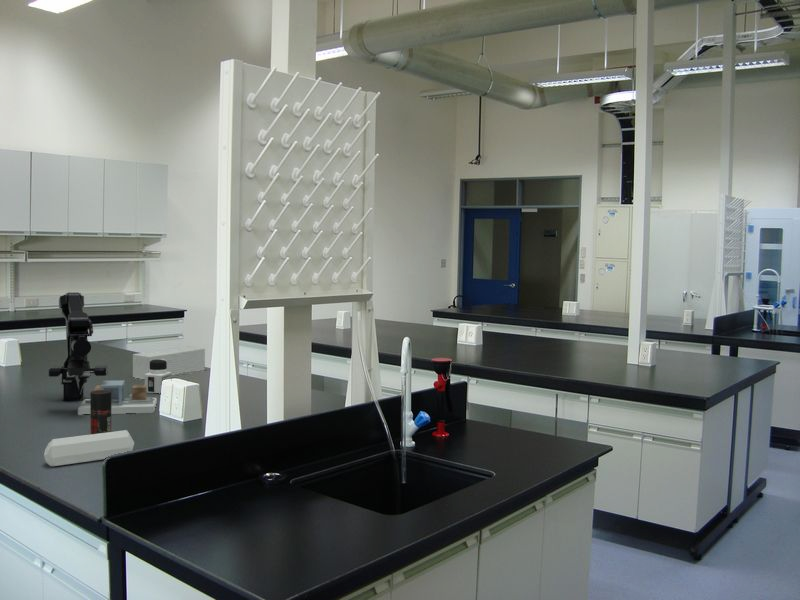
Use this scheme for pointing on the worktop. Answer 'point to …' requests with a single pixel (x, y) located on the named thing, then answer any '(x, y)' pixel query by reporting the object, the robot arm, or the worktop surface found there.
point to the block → (139, 392)
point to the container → (156, 375)
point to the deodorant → (100, 411)
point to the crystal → (87, 447)
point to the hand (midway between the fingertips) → (78, 394)
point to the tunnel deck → (120, 401)
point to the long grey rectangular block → (170, 360)
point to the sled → (126, 398)
